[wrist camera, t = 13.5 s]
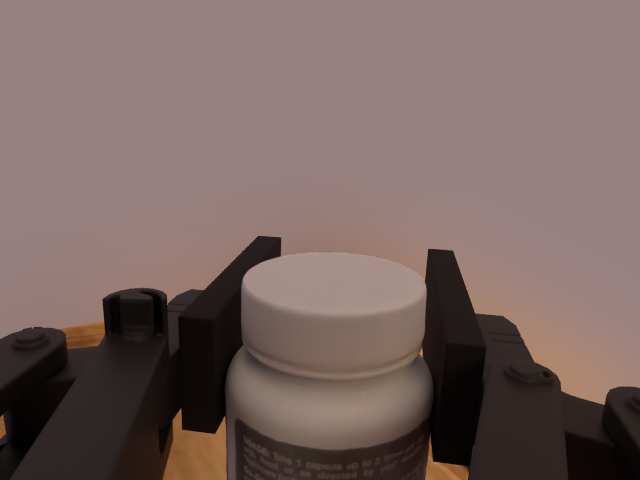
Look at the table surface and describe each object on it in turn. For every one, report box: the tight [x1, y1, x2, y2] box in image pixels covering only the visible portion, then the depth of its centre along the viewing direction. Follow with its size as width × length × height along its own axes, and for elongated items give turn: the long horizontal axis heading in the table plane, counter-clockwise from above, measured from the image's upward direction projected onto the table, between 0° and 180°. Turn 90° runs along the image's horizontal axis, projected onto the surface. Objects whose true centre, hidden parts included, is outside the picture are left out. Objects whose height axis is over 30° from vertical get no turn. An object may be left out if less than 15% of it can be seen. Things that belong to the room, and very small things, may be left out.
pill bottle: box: [224, 252, 434, 480], centre depth 12 cm, size 5×5×8 cm
